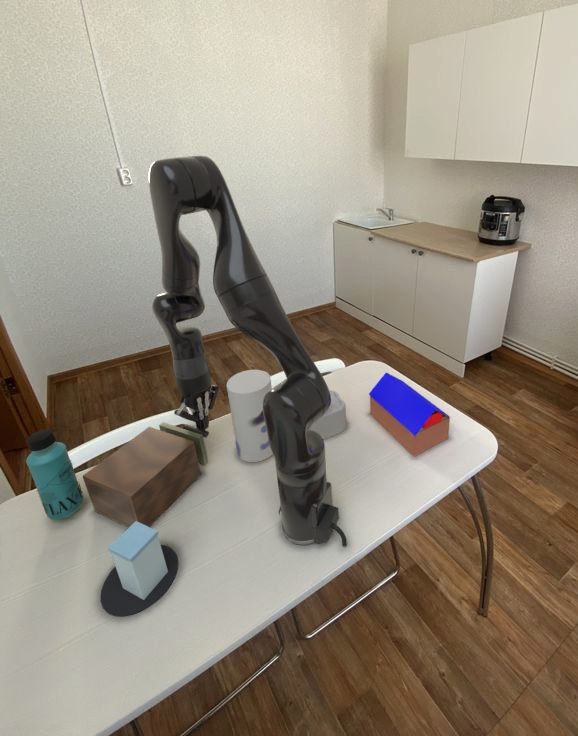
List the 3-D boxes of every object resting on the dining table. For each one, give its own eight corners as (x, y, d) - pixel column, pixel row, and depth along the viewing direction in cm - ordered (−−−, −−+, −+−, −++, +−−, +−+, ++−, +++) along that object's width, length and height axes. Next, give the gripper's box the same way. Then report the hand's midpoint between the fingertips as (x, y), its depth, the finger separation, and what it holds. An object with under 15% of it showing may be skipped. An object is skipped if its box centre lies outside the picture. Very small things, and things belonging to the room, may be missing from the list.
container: (268, 465, 91) (259, 394, 84) (229, 459, 93) (218, 390, 86) (284, 436, 100) (277, 371, 93) (249, 432, 102) (239, 367, 95)
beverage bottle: (42, 530, 76) (9, 450, 69) (57, 502, 82) (28, 427, 75) (79, 521, 78) (50, 443, 71) (92, 495, 84) (66, 421, 77)
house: (402, 399, 115) (402, 366, 110) (449, 439, 99) (453, 401, 95) (368, 414, 109) (368, 378, 105) (414, 458, 93) (415, 418, 89)
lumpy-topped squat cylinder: (350, 430, 102) (349, 403, 99) (303, 446, 97) (301, 418, 94) (335, 408, 111) (333, 383, 108) (291, 422, 106) (289, 395, 103)
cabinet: (157, 458, 94) (149, 426, 90) (201, 475, 89) (194, 441, 85) (94, 511, 80) (82, 475, 77) (142, 534, 75) (130, 496, 72)
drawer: (182, 436, 100) (176, 411, 97) (220, 449, 95) (215, 423, 92) (114, 493, 83) (106, 464, 81) (157, 511, 79) (149, 482, 76)
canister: (169, 571, 68) (157, 531, 65) (143, 601, 64) (130, 559, 60) (148, 560, 70) (136, 520, 66) (122, 588, 65) (107, 547, 62)
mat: (192, 558, 70) (192, 557, 70) (135, 629, 60) (134, 628, 60) (145, 536, 75) (145, 535, 75) (84, 599, 64) (83, 597, 64)
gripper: (181, 387, 84) (195, 450, 90) (223, 359, 96) (232, 416, 102) (157, 380, 87) (171, 441, 93) (200, 354, 98) (210, 409, 105)
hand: (203, 428), depth 97 cm, fingers closed
